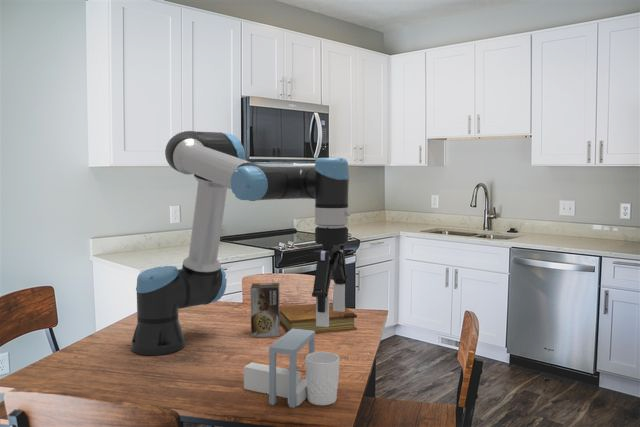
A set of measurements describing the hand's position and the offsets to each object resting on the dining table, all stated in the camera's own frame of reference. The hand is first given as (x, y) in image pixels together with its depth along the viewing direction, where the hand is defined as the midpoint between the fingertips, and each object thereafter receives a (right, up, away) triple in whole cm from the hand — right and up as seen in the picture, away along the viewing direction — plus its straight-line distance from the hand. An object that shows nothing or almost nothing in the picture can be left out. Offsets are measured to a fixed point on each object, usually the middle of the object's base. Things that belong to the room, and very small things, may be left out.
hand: (331, 318), depth 123 cm
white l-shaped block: (-13, -19, +5) cm, 23 cm away
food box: (-20, -15, +50) cm, 56 cm away
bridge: (-9, -19, +4) cm, 21 cm away
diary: (-4, -15, +60) cm, 62 cm away
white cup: (-2, -19, +1) cm, 19 cm away
